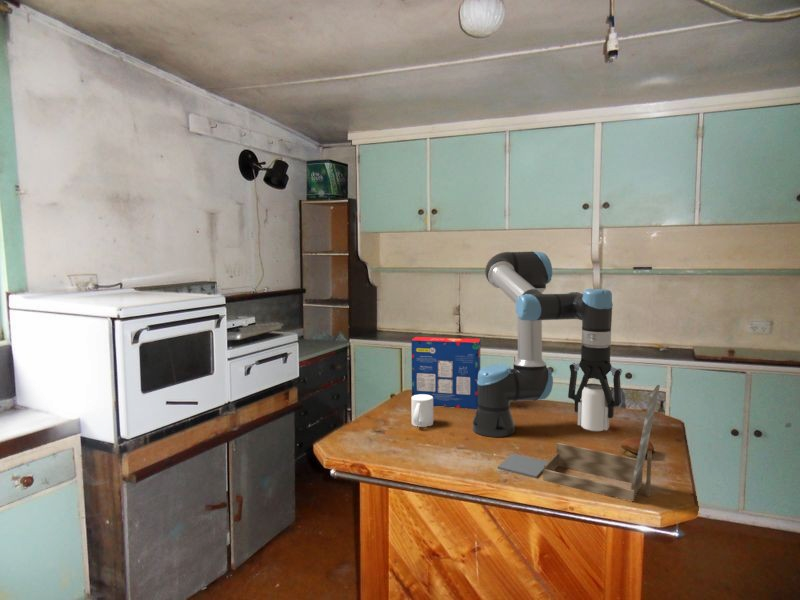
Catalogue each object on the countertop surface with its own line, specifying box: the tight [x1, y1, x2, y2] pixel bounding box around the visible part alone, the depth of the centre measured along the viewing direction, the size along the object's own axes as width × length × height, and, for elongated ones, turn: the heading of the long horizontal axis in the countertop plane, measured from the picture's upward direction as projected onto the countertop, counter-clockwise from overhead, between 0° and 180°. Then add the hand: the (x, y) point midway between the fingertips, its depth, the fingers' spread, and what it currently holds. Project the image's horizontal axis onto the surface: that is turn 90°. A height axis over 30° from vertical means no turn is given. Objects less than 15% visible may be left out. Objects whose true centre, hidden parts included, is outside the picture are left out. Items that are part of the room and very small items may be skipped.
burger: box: [619, 437, 656, 459], centre depth 167 cm, size 10×9×5 cm
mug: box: [410, 394, 434, 428], centre depth 196 cm, size 8×10×12 cm
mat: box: [497, 453, 549, 479], centre depth 159 cm, size 12×12×1 cm
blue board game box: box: [411, 336, 481, 410], centre depth 220 cm, size 28×8×28 cm, turn 76°
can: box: [580, 383, 607, 433], centre depth 145 cm, size 6×6×12 cm
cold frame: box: [542, 384, 661, 502], centre depth 145 cm, size 28×12×29 cm, turn 55°
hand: (593, 426), depth 146 cm, fingers closed on can, 6 cm apart
